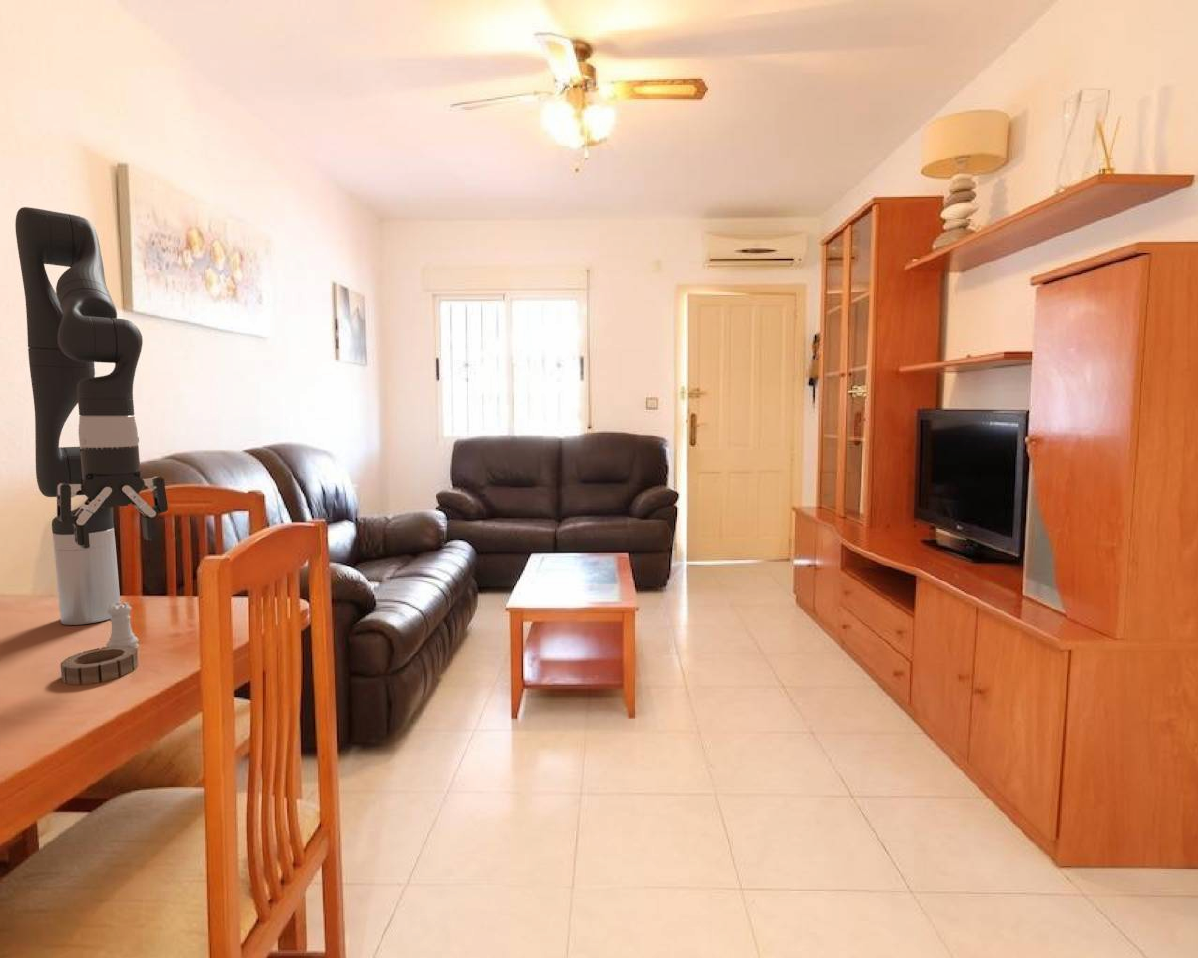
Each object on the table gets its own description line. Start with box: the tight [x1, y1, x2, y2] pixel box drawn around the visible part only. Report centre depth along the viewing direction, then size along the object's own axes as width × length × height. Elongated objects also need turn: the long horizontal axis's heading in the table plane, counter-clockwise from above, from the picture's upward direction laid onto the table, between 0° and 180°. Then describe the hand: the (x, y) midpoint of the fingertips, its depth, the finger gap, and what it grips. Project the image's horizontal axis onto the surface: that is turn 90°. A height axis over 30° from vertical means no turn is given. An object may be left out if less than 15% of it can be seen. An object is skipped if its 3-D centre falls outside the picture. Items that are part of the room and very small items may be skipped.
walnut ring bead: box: [60, 646, 139, 686], centre depth 98 cm, size 9×9×2 cm
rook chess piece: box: [105, 601, 140, 650], centre depth 106 cm, size 4×4×8 cm
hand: (117, 543), depth 105 cm, fingers open, 8 cm apart
